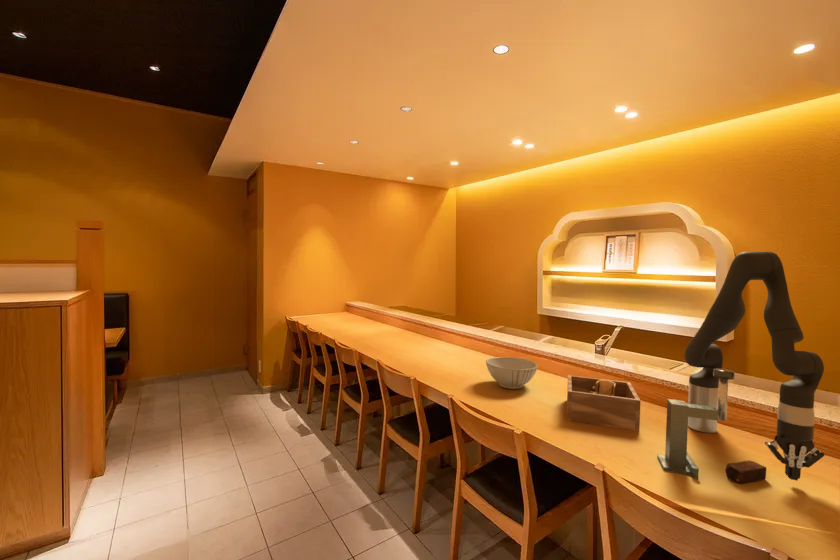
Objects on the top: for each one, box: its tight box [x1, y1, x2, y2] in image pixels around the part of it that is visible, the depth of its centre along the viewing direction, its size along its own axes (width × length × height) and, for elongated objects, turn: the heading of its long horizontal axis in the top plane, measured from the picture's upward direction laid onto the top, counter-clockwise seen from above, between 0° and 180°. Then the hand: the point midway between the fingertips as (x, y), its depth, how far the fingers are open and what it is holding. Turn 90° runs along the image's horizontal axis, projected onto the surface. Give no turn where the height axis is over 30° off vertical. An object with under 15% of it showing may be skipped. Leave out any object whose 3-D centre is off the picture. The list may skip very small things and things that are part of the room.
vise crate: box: [566, 374, 641, 432], centre depth 161 cm, size 26×26×12 cm
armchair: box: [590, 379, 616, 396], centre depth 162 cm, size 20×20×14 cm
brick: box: [725, 459, 767, 484], centre depth 112 cm, size 11×4×5 cm
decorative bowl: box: [485, 356, 538, 390], centre depth 199 cm, size 27×27×12 cm
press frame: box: [656, 398, 719, 480], centre depth 117 cm, size 12×14×20 cm
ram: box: [713, 368, 736, 422], centre depth 114 cm, size 5×5×15 cm
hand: (792, 478), depth 108 cm, fingers closed
